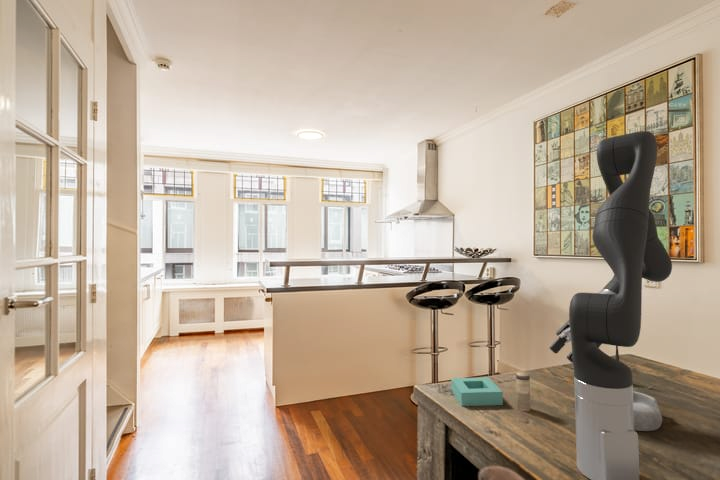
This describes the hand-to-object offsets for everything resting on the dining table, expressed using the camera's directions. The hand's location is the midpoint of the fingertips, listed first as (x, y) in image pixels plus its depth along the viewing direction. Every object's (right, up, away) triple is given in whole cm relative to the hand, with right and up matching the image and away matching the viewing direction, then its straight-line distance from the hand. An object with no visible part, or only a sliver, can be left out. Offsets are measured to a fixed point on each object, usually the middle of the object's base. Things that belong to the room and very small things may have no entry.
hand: (560, 355), depth 98 cm
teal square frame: (-20, -14, +8) cm, 25 cm away
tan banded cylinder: (-10, -14, 0) cm, 17 cm away
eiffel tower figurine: (+26, -14, +17) cm, 34 cm away
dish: (+12, -14, -7) cm, 20 cm away
